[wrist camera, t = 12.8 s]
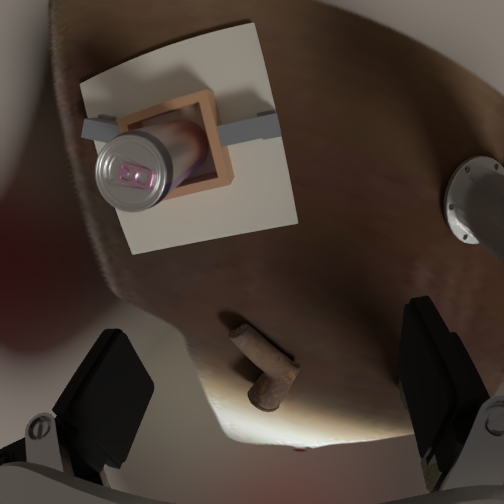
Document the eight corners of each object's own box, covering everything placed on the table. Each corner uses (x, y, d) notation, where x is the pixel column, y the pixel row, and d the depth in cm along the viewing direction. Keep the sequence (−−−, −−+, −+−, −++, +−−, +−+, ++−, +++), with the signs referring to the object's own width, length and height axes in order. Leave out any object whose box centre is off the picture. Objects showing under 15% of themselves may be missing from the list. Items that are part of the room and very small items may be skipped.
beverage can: (201, 176, 35) (158, 225, 21) (154, 162, 34) (87, 202, 21) (216, 127, 32) (178, 144, 19) (166, 114, 31) (100, 124, 18)
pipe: (247, 333, 40) (195, 371, 41) (319, 392, 44) (270, 421, 46) (245, 308, 46) (199, 345, 47) (310, 366, 50) (266, 396, 52)
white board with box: (254, 24, 27) (251, 12, 23) (297, 220, 37) (300, 237, 33) (83, 84, 30) (61, 83, 26) (134, 252, 40) (120, 269, 36)
